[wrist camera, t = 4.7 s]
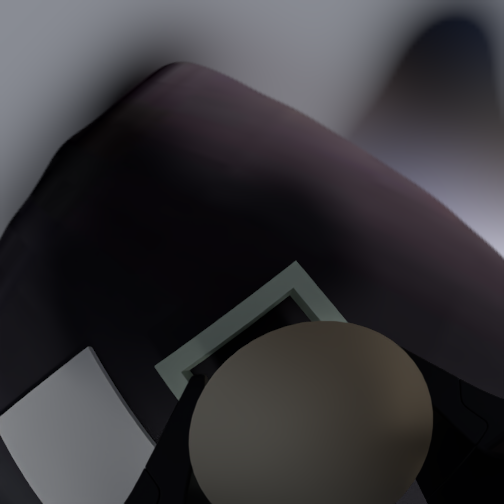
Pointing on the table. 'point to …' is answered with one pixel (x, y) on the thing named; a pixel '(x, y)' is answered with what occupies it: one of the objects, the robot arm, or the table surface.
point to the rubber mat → (77, 436)
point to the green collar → (247, 322)
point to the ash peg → (312, 419)
